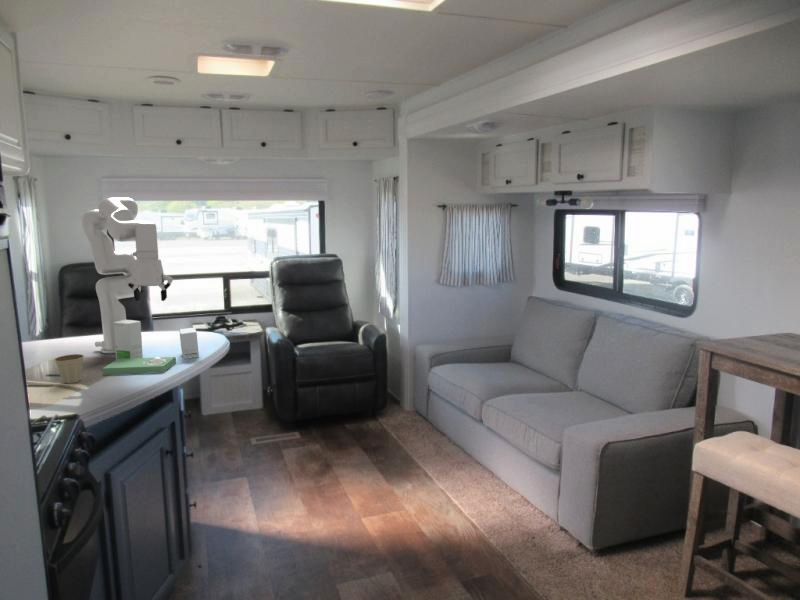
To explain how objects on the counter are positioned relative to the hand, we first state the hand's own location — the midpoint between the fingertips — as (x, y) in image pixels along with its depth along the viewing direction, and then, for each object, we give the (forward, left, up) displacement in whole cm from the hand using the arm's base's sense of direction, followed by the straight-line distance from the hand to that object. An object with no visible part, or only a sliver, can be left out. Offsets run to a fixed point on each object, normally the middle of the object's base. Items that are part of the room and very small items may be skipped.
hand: (150, 300), depth 233 cm
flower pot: (-23, -19, -26) cm, 39 cm away
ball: (+2, -4, -23) cm, 24 cm away
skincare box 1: (-14, +11, -26) cm, 31 cm away
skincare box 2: (+9, +14, -26) cm, 31 cm away
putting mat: (-4, -5, -25) cm, 26 cm away
